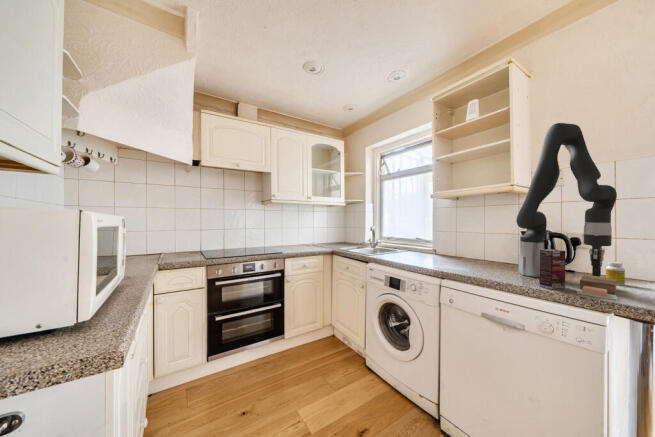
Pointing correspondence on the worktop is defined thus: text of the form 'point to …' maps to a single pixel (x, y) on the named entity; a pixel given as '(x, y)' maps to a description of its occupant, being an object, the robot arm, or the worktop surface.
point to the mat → (599, 296)
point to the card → (594, 291)
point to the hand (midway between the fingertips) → (596, 275)
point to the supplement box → (552, 269)
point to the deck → (599, 283)
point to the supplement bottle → (616, 272)
